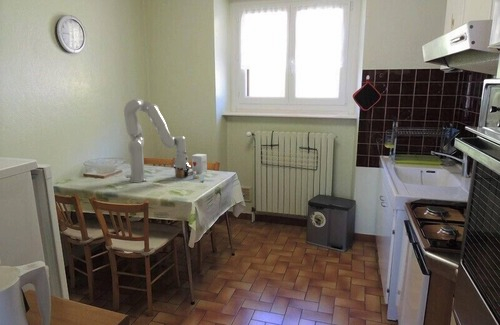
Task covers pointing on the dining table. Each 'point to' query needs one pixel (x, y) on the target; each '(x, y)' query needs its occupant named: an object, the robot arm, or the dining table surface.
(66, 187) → the dining table surface
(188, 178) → the post board
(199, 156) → the supplement box
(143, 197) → the dining table surface
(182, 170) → the collar
